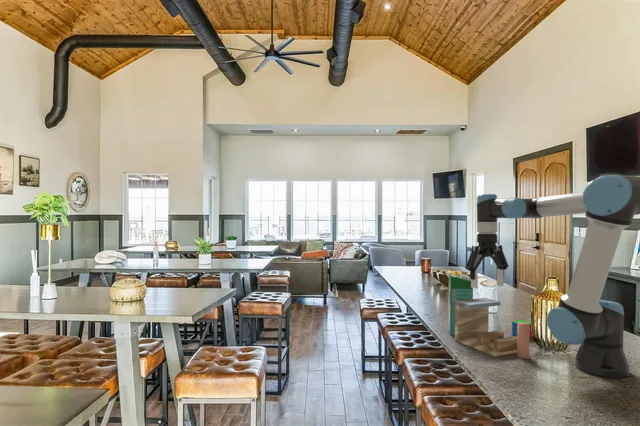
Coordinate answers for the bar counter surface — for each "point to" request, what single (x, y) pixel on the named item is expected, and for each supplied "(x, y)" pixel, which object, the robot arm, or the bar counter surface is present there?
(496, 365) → the bar counter surface
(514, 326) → the puzzle toy
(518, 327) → the peg
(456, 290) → the milk carton
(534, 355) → the bar counter surface
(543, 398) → the bar counter surface
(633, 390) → the bar counter surface
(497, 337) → the station
